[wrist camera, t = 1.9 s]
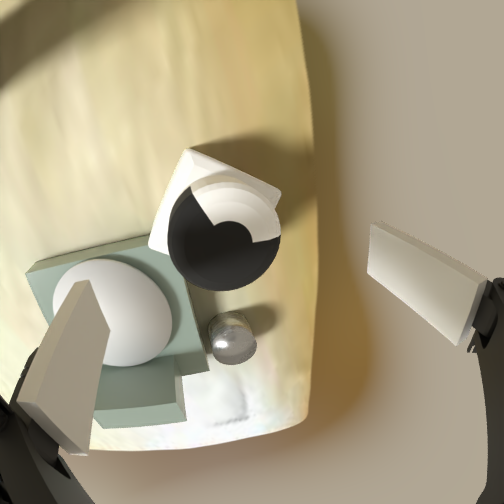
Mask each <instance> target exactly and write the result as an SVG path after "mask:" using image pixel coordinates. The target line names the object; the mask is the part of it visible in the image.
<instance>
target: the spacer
mask: <svg viewBox="0 0 504 504" xmlns="http://www.w3.org/2000/svg"><path fill="white" fill-rule="evenodd" d="M208 333H209V337H210V342H211V347H212V351H213V355H214V357H215V359H216V360H217V361H219V362H220V363H223V364H227V365H236V364H240V363H243V362H245V361H247V360H248V359H250V358H251V357H252V356H253V355H254V353H255V351H256V348H257V343H256V340H255V338H254V336H253V333H252V331H251V328H250V326H249V324H248V321H247V319H246V318H245V317H244V316H243V315H242V314H240V313H237V312H224V313H221V314H219V315H217V316H216V317H214V318H213V319H212V321H211V322H210V324H209V327H208Z"/></svg>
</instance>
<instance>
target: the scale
mask: <svg viewBox="0 0 504 504" xmlns="http://www.w3.org/2000/svg"><path fill="white" fill-rule="evenodd" d="M149 237H150V235H146V236H142V237H137V238H133V239H128V240H124V241H119V242H115V243H111V244H106V245H102V246H98V247H94V248H89V249H85V250H81V251H77V252H73V253H69V254H65V255H61V256H57V257H53V258H50V259H46V260H42V261H38V262H36V263H35V264H34V265H33V266H32V267H31V268H30V269H29V270H28V271H27V272H26V273H25V275H26V277H27V280H28V282H29V285H30V287H31V289H32V292H33V294H34V296H35V298H36V300H37V303H38V305H39V307H40V309H41V311H42V313H43V315H44V317H45V319H46V321H47V323H48V325H49V326H50V325H51V323H52V321H53V319H54V317H55V315H56V313H57V312H58V310H59V308H60V306H61V305H62V303H63V301H64V299H65V298H66V296H67V294H68V293H69V291H70V289H71V288H72V286H73V284H74V283H75V282H78V281H83V280H88V279H89V280H90V283H91V285H92V288H93V290H94V293H95V296H96V298H97V300H98V303H99V305H100V308H101V310H102V312H103V315H104V317H105V319H106V322H107V324H108V326H109V328H110V330H111V331H110V335H109V339H108V343H107V347H106V351H105V356H104V360H103V364H102V369H101V374H100V379H99V384H98V389H97V395H96V401H95V407H94V413H93V418H94V419H95V420H96V421H97V422H98V423H99V425H100V426H101V427H102V428H103V429H107V428H128V427H142V426H152V425H161V424H169V423H177V422H184V421H187V419H186V411H185V403H184V394H183V385H182V376H185V375H191V374H196V373H201V372H206V371H210V370H209V365H208V360H207V355H206V351H205V348H204V345H203V341H202V338H201V334H200V331H199V327H198V324H197V320H196V316H195V313H194V309H193V305H192V301H191V297H190V293H189V290H188V286H187V281H186V279H185V278H184V277H183V276H182V275H181V274H180V273H179V272H178V271H177V269H176V268H175V266H174V264H173V262H172V260H171V258H170V255H167V254H164V253H161V252H159V251H156V250H153V249H151V248H149V246H148V241H149Z"/></svg>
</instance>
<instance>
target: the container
mask: <svg viewBox="0 0 504 504" xmlns="http://www.w3.org/2000/svg"><path fill="white" fill-rule="evenodd" d="M280 197H281V191H280V190H279V189H278V188H276V187H274V186H272V185H270V184H268V183H265V182H263V181H261V180H259V179H257V178H255V177H253V176H251V175H249V174H247V173H245V172H242V171H240V170H238V169H236V168H234V167H232V166H229V165H227V164H225V163H223V162H221V161H218V160H216V159H214V158H212V157H209V156H207V155H205V154H202V153H200V152H198V151H196V150H193V149H190V148H186V149H185V150H184V151H183V153H182V155H181V157H180V160H179V162H178V164H177V166H176V168H175V171H174V173H173V175H172V178H171V180H170V182H169V185H168V187H167V189H166V192H165V194H164V197H163V199H162V202H161V204H160V207H159V209H158V212H157V214H156V217H155V220H154V223H153V227H152V230H151V234H150V237H149V241H148V246H149V248H151V249H153V250H156V251H159V252H161V253H164V254H167V255H170V258H171V260H172V262H173V264H174V266H175V268H176V269H177V271H178V272H179V273H180V274H181V275H182V276H183V277H184V278H185V279H186V280H188V281H189V282H191V283H192V284H194V285H196V286H198V287H200V288H203V289H207V290H212V291H229V290H234V289H238V288H241V287H244V286H246V285H248V284H250V283H252V282H253V281H255V280H256V279H258V278H259V277H260V276H261V275H262V274H263V273H264V272H265V271H266V270H267V269H268V268H269V266H270V265H271V264H272V262H273V260H274V258H275V257H276V254H277V251H278V249H279V244H280V238H281V229H280V223H279V219H278V216H277V213H276V211H275V207H276V205H277V203H278V201H279V199H280Z"/></svg>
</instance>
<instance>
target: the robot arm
mask: <svg viewBox="0 0 504 504" xmlns="http://www.w3.org/2000/svg"><path fill="white" fill-rule="evenodd" d="M367 273H368V274H369V275H370V276H371V277H373V278H374V279H376V280H377V281H378V282H379V283H381V284H382V285H383V286H384V287H386V288H387V289H388V290H389V291H391V292H392V293H393V294H394V295H396V296H397V297H398V298H399V299H401V300H402V301H403V302H404V303H406V304H407V305H408V306H409V307H411V308H412V309H413V310H414V311H415V312H417V313H418V314H419V315H420V316H421V317H423V318H424V319H425V320H426V321H427V322H429V323H430V324H431V325H432V326H433V327H435V328H436V329H437V330H438V331H439V332H441V333H442V334H443V335H444V336H445V337H446V338H447V339H449V340H450V341H451V342H452V343H453V344H454V345H455V346H457V345H458V344H460V343H461V342H463V341H464V340H465V339H467V336H468V334H469V331H470V329H471V327H472V326H473V327H474V328H475V329H476V330H475V333H474V335H473V337H472V340H471V342H470V344H469V346H468V348H467V352H470V350H471V348H472V346H474V345H475V347H474V349H473V352H472V353H477V355H478V360H479V365H480V370H481V376H482V383H483V389H484V397H485V406H486V417H487V434H488V468H487V482H486V486H485V489H484V491H483V492H482V494H481V495H480V497H479V498H478V500H477V503H476V504H504V278H496V279H494V280H493V283H492V282H490V281H489V280H488V278H487V277H485V276H483V275H481V274H480V273H478V272H477V271H475V270H473V269H471V268H470V267H468V266H466V265H464V264H463V263H461V262H460V261H458V260H456V259H454V258H452V257H451V256H449V255H447V254H445V253H443V252H442V251H440V250H438V249H436V248H434V247H432V246H430V245H429V244H426V243H425V242H423V241H421V240H419V239H417V238H415V237H413V236H411V235H409V234H407V233H405V232H403V231H401V230H399V229H397V228H395V227H393V226H391V225H389V224H387V223H384V222H382V221H381V222H376V223H371V227H370V243H369V257H368V268H367ZM110 331H111V330H110V328H109V326H108V324H107V322H106V319H105V317H104V315H103V312H102V310H101V308H100V305H99V303H98V300H97V298H96V296H95V293H94V290H93V288H92V285H91V283H90V280H89V279H88V280H83V281H78V282H75V283H74V284H73V286H72V288H71V289H70V291H69V293H68V294H67V296H66V298H65V299H64V301H63V303H62V305H61V306H60V308H59V310H58V312H57V313H56V315H55V317H54V319H53V321H52V323H51V325H50V326H49V328H48V330H47V332H46V334H45V336H44V338H43V340H42V342H41V344H40V346H39V348H36V349H35V351H34V352H33V353H32V354H31V355H30V356H29V358H28V360H27V362H26V364H25V366H24V369H23V371H22V373H21V375H20V376H21V378H19V380H18V382H17V385H16V387H15V390H14V392H13V395H12V397H11V400H10V403H9V405H8V403H7V402H6V401H5V400H4V399H3V398H2V396H1V395H0V504H95V503H94V502H93V501H92V499H91V498H90V497H89V495H88V494H87V493H86V492H85V490H84V489H83V487H82V486H81V485H80V483H79V482H78V480H77V479H76V478H75V476H74V475H73V473H72V472H71V470H70V469H69V467H68V466H67V464H66V462H65V461H64V459H63V458H62V457H61V456H60V455H59V454H58V449H59V446H60V447H62V448H63V449H64V450H65V451H66V452H67V453H69V454H71V455H84V456H88V455H89V444H90V435H91V427H92V420H93V413H94V407H95V401H96V395H97V389H98V384H99V379H100V374H101V369H102V364H103V360H104V356H105V351H106V347H107V343H108V339H109V335H110Z"/></svg>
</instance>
